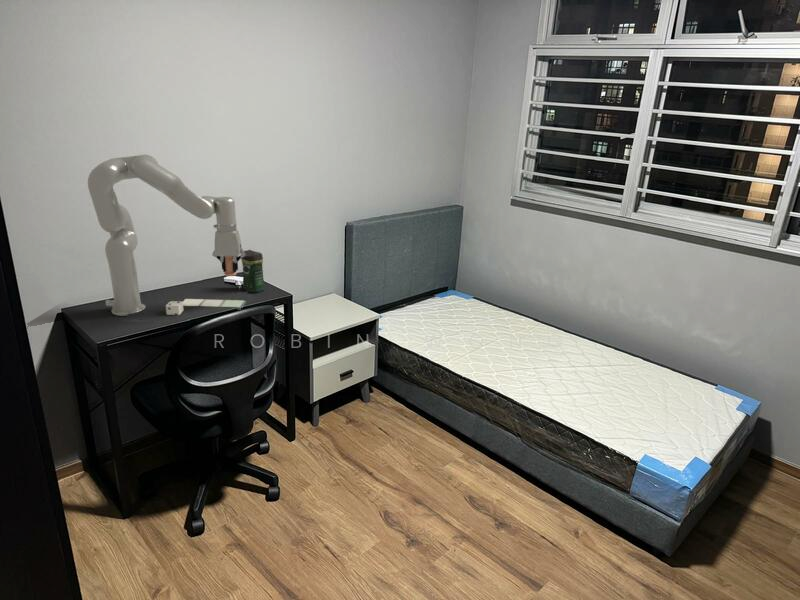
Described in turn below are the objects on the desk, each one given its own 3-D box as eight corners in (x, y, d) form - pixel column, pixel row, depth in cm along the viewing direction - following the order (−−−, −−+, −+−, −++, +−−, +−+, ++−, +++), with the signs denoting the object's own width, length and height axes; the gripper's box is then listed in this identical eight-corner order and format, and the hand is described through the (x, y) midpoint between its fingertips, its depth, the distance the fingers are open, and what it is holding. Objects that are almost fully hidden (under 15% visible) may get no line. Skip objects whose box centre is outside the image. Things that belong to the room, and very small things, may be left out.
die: (166, 317, 224) (165, 304, 222) (171, 312, 229) (170, 300, 227) (179, 317, 224) (177, 305, 222) (183, 312, 229) (182, 300, 227)
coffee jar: (267, 290, 258) (265, 251, 252) (253, 294, 252) (251, 254, 246) (254, 285, 264) (252, 247, 258) (240, 289, 258) (237, 250, 252)
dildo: (223, 276, 231) (221, 251, 228) (226, 272, 236) (224, 248, 232) (234, 276, 231) (232, 251, 228) (237, 273, 236) (236, 248, 232)
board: (177, 308, 234) (177, 305, 233) (184, 300, 242) (184, 298, 242) (240, 309, 234) (240, 307, 234) (246, 302, 243) (245, 300, 242)
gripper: (203, 229, 223) (207, 273, 229) (245, 230, 223) (248, 274, 230) (209, 225, 230) (213, 268, 236) (249, 226, 231) (252, 269, 237)
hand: (230, 270), depth 233 cm, fingers closed on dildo, 3 cm apart
